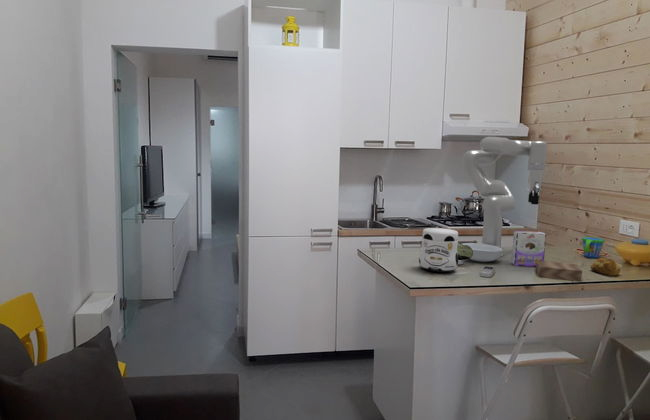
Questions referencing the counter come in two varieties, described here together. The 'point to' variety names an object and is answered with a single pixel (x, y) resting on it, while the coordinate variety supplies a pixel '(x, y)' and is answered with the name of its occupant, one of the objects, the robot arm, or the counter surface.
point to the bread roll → (606, 267)
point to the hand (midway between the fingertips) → (533, 203)
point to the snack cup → (592, 247)
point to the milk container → (439, 250)
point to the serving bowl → (484, 252)
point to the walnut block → (558, 270)
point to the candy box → (528, 248)
